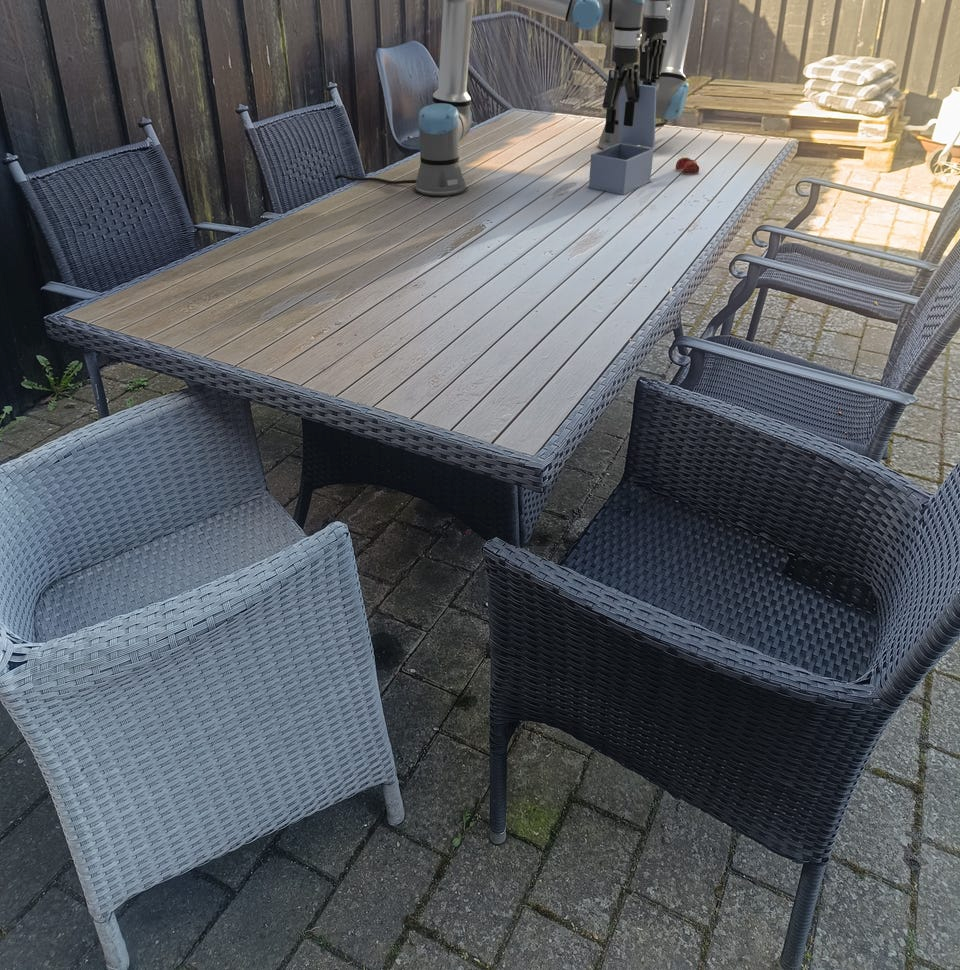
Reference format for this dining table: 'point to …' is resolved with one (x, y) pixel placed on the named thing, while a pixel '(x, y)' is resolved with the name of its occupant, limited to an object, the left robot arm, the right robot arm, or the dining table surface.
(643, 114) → the lid
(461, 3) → the left robot arm
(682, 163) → the dark red rounded lump
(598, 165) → the chest
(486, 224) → the dining table surface
